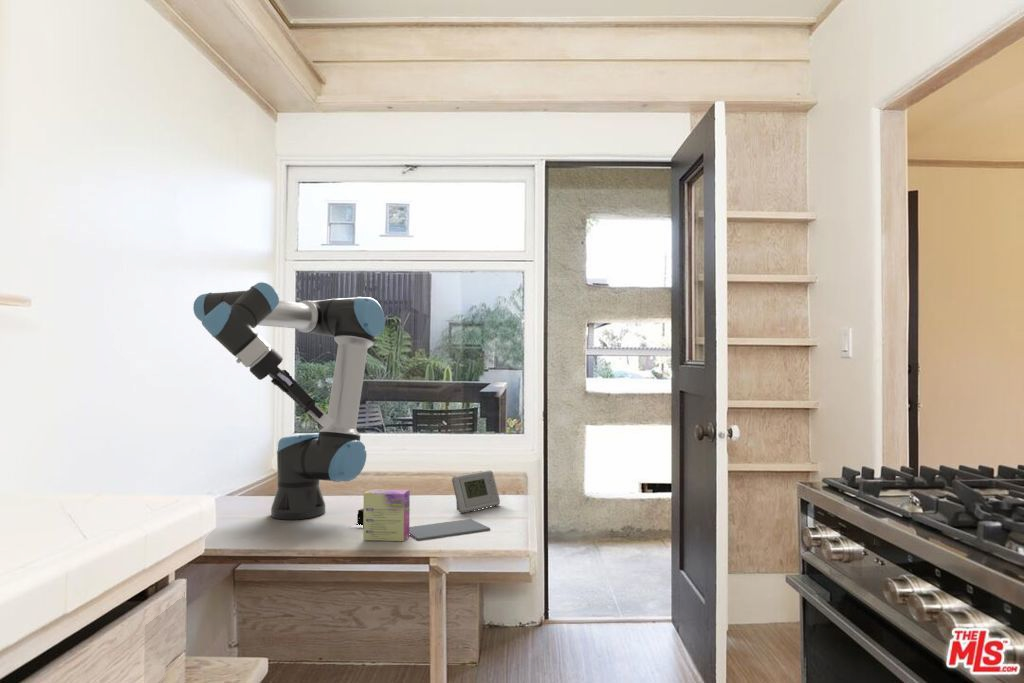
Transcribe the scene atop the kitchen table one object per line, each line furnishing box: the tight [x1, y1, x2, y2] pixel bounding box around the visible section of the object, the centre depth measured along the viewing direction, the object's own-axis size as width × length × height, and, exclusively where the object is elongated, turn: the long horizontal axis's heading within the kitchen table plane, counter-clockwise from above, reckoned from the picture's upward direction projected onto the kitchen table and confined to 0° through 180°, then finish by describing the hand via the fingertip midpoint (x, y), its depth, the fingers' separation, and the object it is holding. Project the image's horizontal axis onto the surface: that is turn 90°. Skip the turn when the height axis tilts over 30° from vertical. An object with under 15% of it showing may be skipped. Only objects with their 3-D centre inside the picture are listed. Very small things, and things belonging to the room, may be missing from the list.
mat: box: [409, 518, 491, 541], centre depth 174 cm, size 12×20×1 cm, turn 119°
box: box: [362, 488, 411, 542], centre depth 167 cm, size 10×6×12 cm, turn 84°
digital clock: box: [451, 469, 501, 514], centre depth 200 cm, size 16×9×11 cm, turn 124°
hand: (329, 425), depth 166 cm, fingers closed
